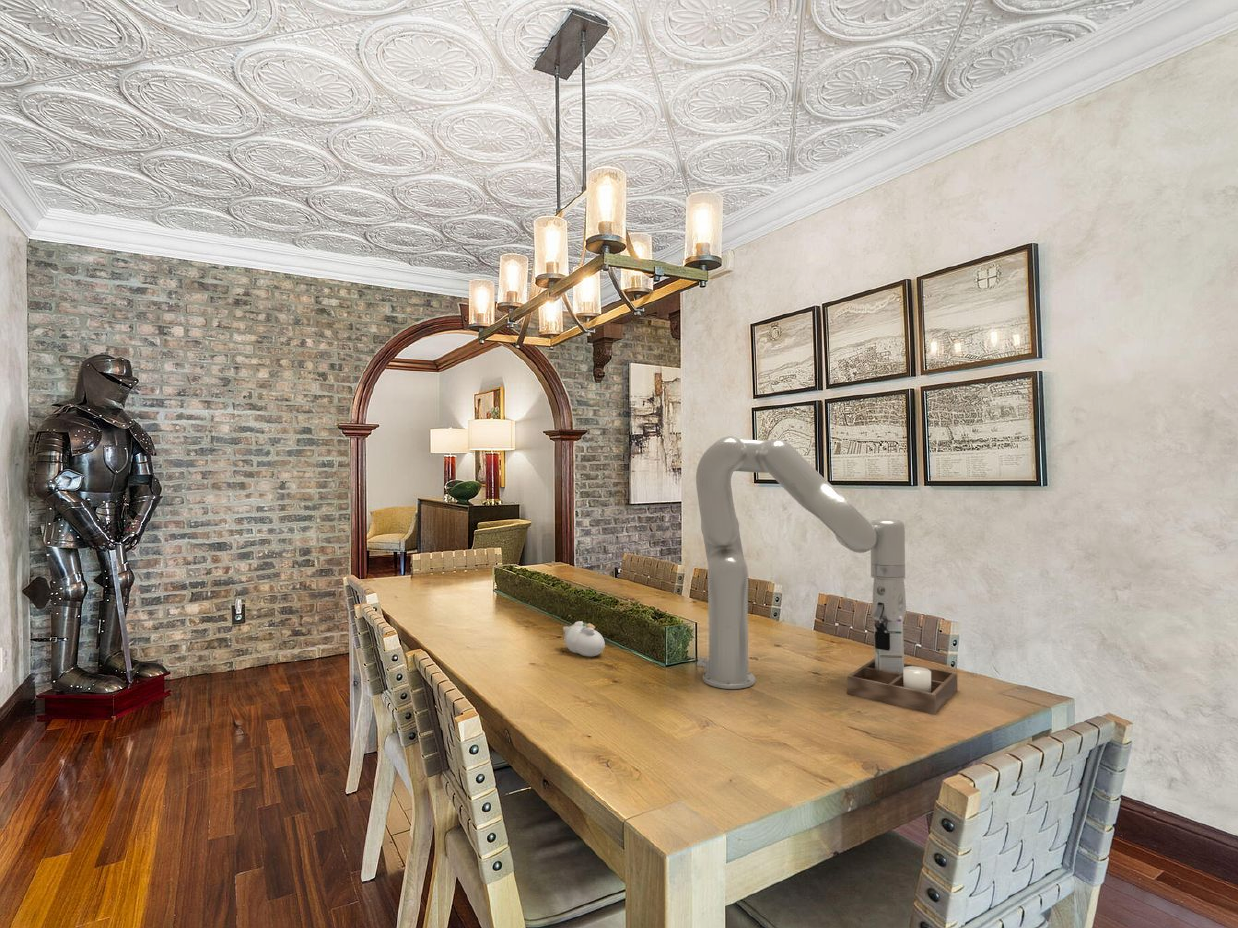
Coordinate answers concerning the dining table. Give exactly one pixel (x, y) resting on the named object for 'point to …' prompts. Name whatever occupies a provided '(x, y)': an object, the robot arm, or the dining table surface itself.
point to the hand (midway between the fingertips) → (888, 644)
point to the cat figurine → (583, 639)
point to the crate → (902, 688)
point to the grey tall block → (891, 649)
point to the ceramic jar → (917, 678)
